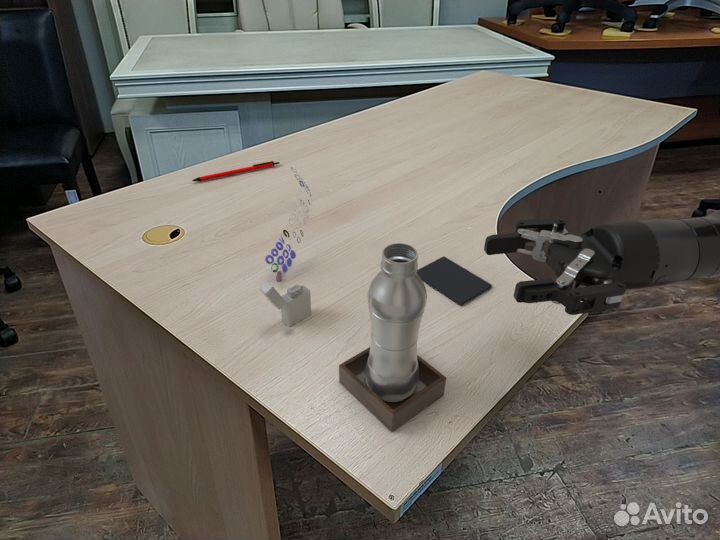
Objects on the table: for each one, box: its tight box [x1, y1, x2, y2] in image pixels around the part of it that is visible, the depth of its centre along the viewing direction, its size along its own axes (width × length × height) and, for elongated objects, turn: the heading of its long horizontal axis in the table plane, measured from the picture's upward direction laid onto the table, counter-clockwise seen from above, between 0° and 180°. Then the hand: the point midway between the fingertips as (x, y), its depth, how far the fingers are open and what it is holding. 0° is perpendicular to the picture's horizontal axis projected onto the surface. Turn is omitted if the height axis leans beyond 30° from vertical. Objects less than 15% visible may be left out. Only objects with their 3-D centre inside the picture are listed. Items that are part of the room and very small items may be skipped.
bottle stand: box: [338, 346, 447, 433], centre depth 64 cm, size 10×9×3 cm
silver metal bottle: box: [364, 242, 428, 403], centre depth 59 cm, size 6×7×20 cm
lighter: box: [259, 281, 312, 328], centre depth 72 cm, size 7×2×8 cm, turn 133°
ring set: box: [264, 166, 312, 282], centre depth 88 cm, size 25×12×12 cm, turn 168°
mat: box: [416, 256, 493, 307], centre depth 82 cm, size 10×7×1 cm
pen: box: [191, 160, 280, 182], centre depth 111 cm, size 1×19×1 cm, turn 118°
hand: (500, 267), depth 56 cm, fingers open, 8 cm apart
